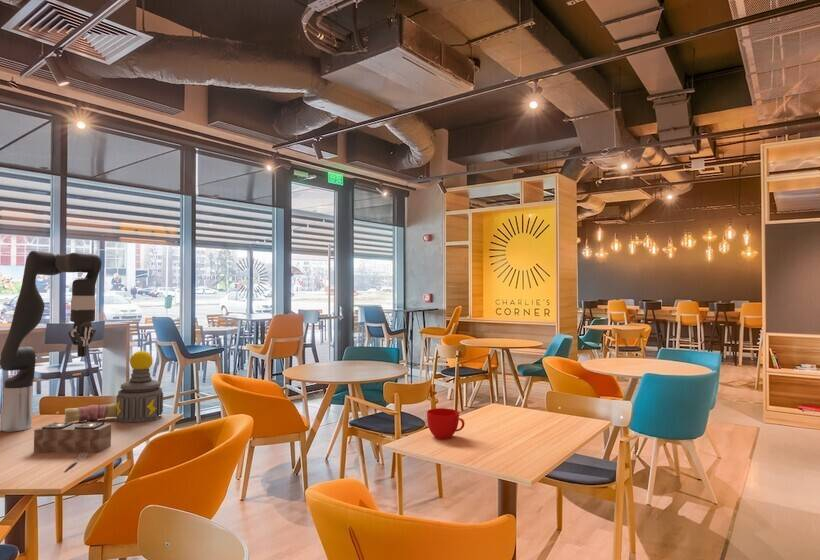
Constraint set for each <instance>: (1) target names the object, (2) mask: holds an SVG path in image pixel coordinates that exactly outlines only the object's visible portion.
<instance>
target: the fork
mask: <svg viewBox="0 0 820 560" xmlns="http://www.w3.org/2000/svg"><path fill="white" fill-rule="evenodd" d="M87 455H88V452H87V453H86V452H85V453H79V455H78V456H77V458H76V460H77V459H79V460H77V461H75V462H74V463H72V464H70V465H69V466H68V467H67V468H65V470H64V473H66V472H68V471H70V470H71V469H72V468H74V467H76V465H77V464H78V463H79V461H80V460H86V458H87Z"/></svg>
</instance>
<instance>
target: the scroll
mask: <svg viewBox="0 0 820 560" xmlns="http://www.w3.org/2000/svg"><path fill="white" fill-rule="evenodd" d="M106 418H117V416H116V402H115V403H110V404H100V405H98V404H90V405H87V406H79V407H66V408H65V409H64V423H74V422H77V421H79V423H80V422H84V421H85V423H95V422H94V421H96V422H98V421H99V419H100V420H101V419H102V420H103V419H104V420H105V419H106ZM97 420H98V421H97Z"/></svg>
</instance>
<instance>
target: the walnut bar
mask: <svg viewBox="0 0 820 560" xmlns="http://www.w3.org/2000/svg"><path fill="white" fill-rule="evenodd" d="M54 424H65V425H63V426H61V427H51V425H54ZM85 424H96V425H95V426H93V427H83V425H85ZM33 433H34V434H33V453H34V452H41V454H43V453H44V454H45V453H46V452H72V453H73V454H74V453H75V452H76V453H78V454H80V453H81V454H82V453H83V454H88V453H89V454H90V453H91V454H92V453H93V452H94V453H97V452H98V453H101V452H102V451H104V450H106V449H108V448H109V447H111V445H112V444H111V443H112V423H105V422H84V423H74V422H69V423H65V422H53V423H47V424H45V425H43V426H40V427H38V428H35V429H34V432H33ZM85 452H86V453H85ZM87 452H88V453H87ZM46 454H47V453H46Z"/></svg>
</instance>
